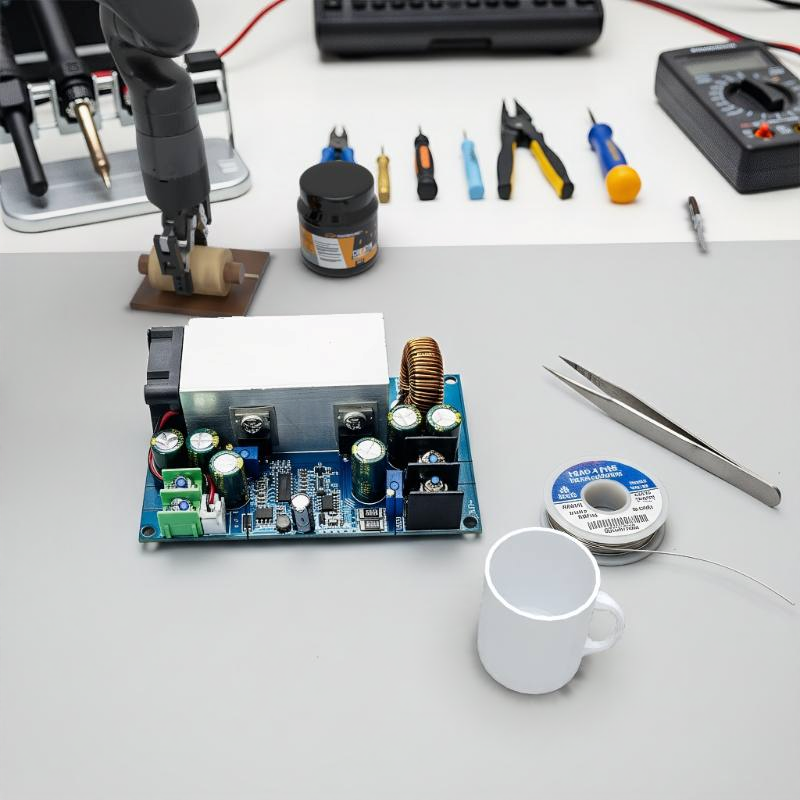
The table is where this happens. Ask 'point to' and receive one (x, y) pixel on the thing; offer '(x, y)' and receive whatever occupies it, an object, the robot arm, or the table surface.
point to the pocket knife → (696, 218)
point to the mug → (540, 610)
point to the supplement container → (338, 218)
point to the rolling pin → (198, 270)
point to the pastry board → (208, 304)
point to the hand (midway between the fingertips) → (193, 277)
